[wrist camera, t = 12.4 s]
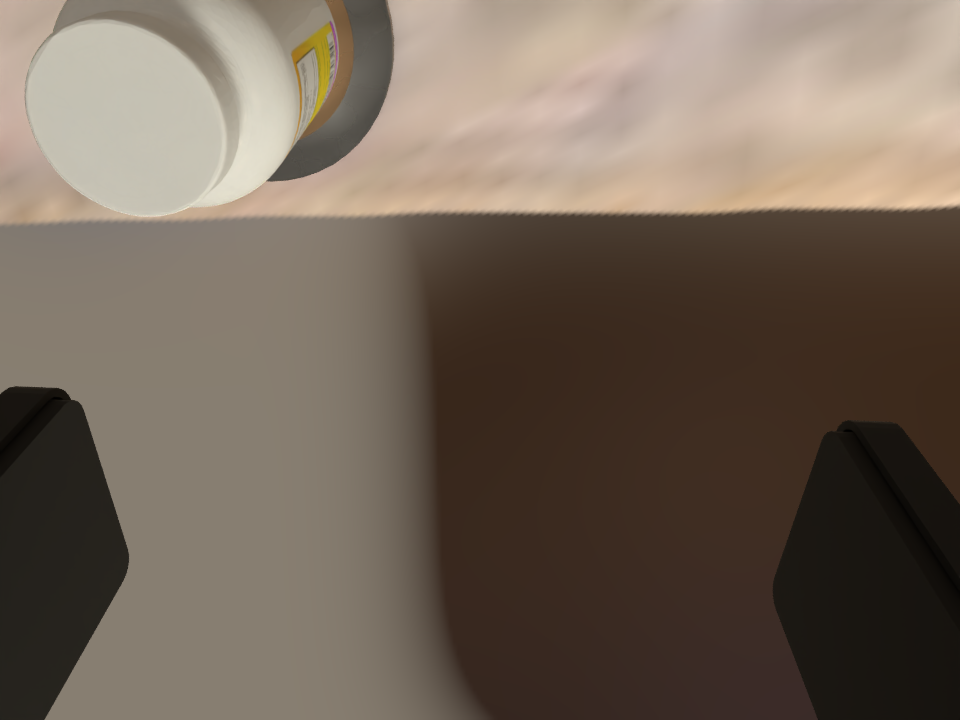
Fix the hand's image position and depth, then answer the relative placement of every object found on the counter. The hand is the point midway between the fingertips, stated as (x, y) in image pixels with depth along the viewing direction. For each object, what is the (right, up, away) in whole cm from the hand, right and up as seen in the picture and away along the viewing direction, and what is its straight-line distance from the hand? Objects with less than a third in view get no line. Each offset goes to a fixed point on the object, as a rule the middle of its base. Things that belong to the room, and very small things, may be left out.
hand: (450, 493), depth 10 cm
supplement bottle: (-8, +14, +19) cm, 25 cm away
